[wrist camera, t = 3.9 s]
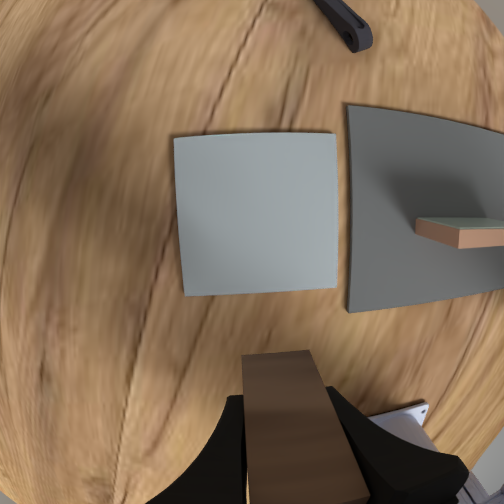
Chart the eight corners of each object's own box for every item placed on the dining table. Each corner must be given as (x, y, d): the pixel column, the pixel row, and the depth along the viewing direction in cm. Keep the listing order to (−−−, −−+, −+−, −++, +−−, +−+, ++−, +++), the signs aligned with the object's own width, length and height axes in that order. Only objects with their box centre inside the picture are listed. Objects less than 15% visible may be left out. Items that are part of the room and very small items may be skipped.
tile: (486, 231, 20) (528, 243, 15) (415, 234, 19) (458, 248, 15) (487, 217, 20) (529, 227, 15) (415, 217, 19) (459, 228, 14)
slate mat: (507, 285, 22) (509, 286, 21) (346, 311, 21) (348, 313, 20) (513, 139, 19) (516, 138, 18) (346, 106, 18) (348, 105, 17)
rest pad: (334, 285, 20) (336, 287, 20) (185, 294, 20) (184, 296, 20) (333, 134, 18) (335, 133, 18) (174, 139, 18) (173, 138, 17)
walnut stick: (305, 399, 14) (349, 536, 6) (244, 405, 14) (254, 550, 6) (308, 349, 13) (370, 495, 5) (241, 355, 13) (250, 514, 5)
